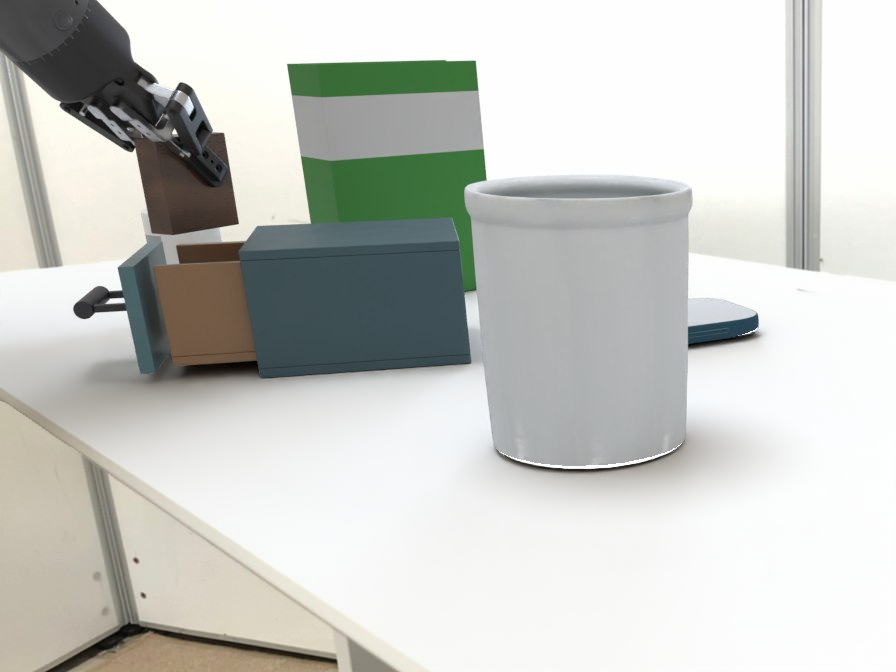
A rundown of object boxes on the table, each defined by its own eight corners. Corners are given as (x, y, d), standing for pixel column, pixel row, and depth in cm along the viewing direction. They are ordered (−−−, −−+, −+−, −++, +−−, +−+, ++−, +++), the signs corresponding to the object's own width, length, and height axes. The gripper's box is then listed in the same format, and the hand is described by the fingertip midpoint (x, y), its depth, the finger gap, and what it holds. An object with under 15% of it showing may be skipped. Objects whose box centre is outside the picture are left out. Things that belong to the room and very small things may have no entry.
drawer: (77, 378, 98) (52, 270, 95) (112, 341, 110) (90, 244, 107) (347, 360, 103) (332, 256, 100) (352, 326, 115) (339, 233, 111)
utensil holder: (648, 400, 94) (639, 167, 87) (733, 453, 82) (730, 188, 75) (463, 427, 88) (437, 179, 81) (526, 489, 76) (502, 204, 69)
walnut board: (151, 233, 98) (132, 137, 95) (218, 222, 104) (203, 131, 101) (172, 235, 97) (154, 138, 94) (239, 224, 103) (224, 132, 100)
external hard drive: (713, 314, 123) (712, 295, 122) (771, 336, 113) (771, 315, 113) (492, 343, 112) (490, 322, 111) (537, 370, 103) (535, 347, 102)
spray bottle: (206, 311, 126) (172, 131, 119) (250, 318, 123) (217, 133, 116) (148, 324, 121) (109, 136, 113) (193, 331, 117) (155, 138, 110)
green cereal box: (463, 277, 142) (441, 60, 133) (496, 286, 137) (475, 60, 128) (322, 298, 132) (286, 63, 122) (351, 308, 127) (317, 64, 117)
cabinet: (260, 378, 101) (238, 251, 97) (275, 339, 114) (256, 225, 110) (471, 363, 105) (459, 240, 101) (463, 327, 118) (451, 217, 114)
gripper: (133, -23, 84) (288, 146, 99) (4, -20, 90) (169, 140, 105) (83, 59, 82) (249, 219, 97) (-46, 58, 88) (130, 209, 103)
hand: (207, 177), depth 101 cm, fingers closed on walnut board, 2 cm apart
